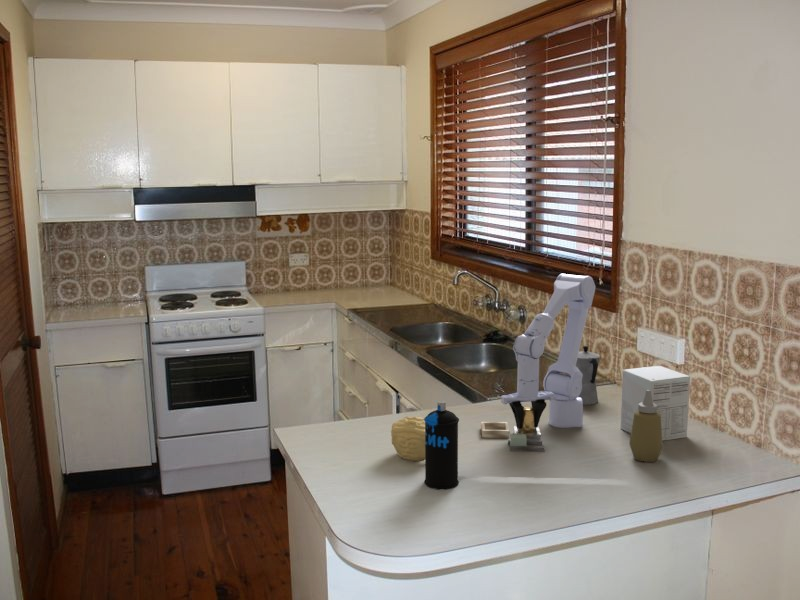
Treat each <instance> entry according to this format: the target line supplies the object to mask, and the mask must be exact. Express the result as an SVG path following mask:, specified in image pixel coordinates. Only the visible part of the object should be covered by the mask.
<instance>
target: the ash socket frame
mask: <svg viewBox="0 0 800 600" xmlns="http://www.w3.org/2000/svg"><path fill="white" fill-rule="evenodd" d="M480 423H481V424H480V431H481V437H482V438H495V439H496V438H498V439H499V438H500V439H501V438H502V439H503V438H505V439H507V438H510V434H511V433H510V432H511V431H510V427H509V422H508V421H481V422H480Z"/></svg>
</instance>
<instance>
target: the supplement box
mask: <svg viewBox="0 0 800 600" xmlns="http://www.w3.org/2000/svg"><path fill="white" fill-rule="evenodd" d="M690 386H691V375H687V374H684V373H681V372H680V371H676V370H672V369H671V368H668V367H665V366H662V365H653V366H645V367H643V366H642V367H636V368H634V367H633V368H626V369H622V384H621V405H620V406H621V407H620V409H621V410H620V412H621V414H620V429H621V430H623V431H625V432H627V433H629V434H631V431H632V424H633V418H634V413H635V412H636V411H638V404H639V403H641V402H643V400H644V396H645V393H646V390H650V391H651V394H652V400H653V403H654V404H656V405H657V412H658V413H659V414H660V416H661V430H662V442H663V441H670V440H676V439H682V438H687V437H688V423H689V422H688V421H689V420H688V419H689V406H690V405H689V403H690Z"/></svg>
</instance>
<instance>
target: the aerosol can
mask: <svg viewBox="0 0 800 600" xmlns="http://www.w3.org/2000/svg"><path fill="white" fill-rule="evenodd" d="M446 404H447V402H446V401H445V400H438V401H437V409H436V410H433V411H431V412H430V413H428V414H427V415H426V416H425V417H423V418H424V421H425V458H424V459H425V460H424V461H425V463H424V465H425V468H424V470H425V472H424V473H425V475H424V478H425V479H424V485H425V486H426V487H428V488H431V489H433V488H434V489H433V490H440V489H444V490H450V489H451V490H452V489H454V488H456V487H457V486H458V485H459V483H460V481H459V479H458V478H459V477H458V476H459V475H458V473H459V472H458V471H459V470H458V469H459V463H458V462H459V436H458V435H459V422H460V418H459V417H458V416H457V415H456V414H455V413H454V412H453V411H450V410H447V405H446Z"/></svg>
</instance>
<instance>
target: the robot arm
mask: <svg viewBox="0 0 800 600" xmlns="http://www.w3.org/2000/svg"><path fill="white" fill-rule="evenodd" d="M596 287H597V286H596V284H595V282H594V279H593V277H592V276H590V275H576V274H568V273H567V274H566V273H564V272H563V273H560V274H559V275H557V277H556V280H555V281H554V282H553V293H552V295H551V297H550V299H549V301H548V303H547V304H546V306H545V308H544V310H543V312H541V313H537V314H536V315H535V317H534V318H533V320H532V321H531V322H530V324H529V325H528V326H527V328H526V330H525V332H524V333H523V334H520V335H518V336H517V337H516V338H515V340H514V343H513V346H512V350H513V352H514V354H515V360H516V362H517V373H516V374H517V378H516V380H517V381H516V384H517V385H516V387H517V388H516V392H514V393H509V394H504V395H503V394H502V395H501V397H500V399H501V402H500V403H501V404H503V405H509V407H510V409H511V411H512V413H513V416H514V419H515V420H514V421H515V424H516V425H515V426H517V428H519V429H522V415H523V409H524V407H525V406H523V404H522V403H527V402H528V403H529V402H530V403H531V407H532V408H534V409H535V428H536V427H539V424H540V419H541V416H542V414H543V412H544V411H545V409H546V408H547V402H546V401H548V404H549V405H548V425H550V426H552V427H555V428H563V429H564V428H583V422H584V421H583V420H584V405H583V401H582V398H581V397H578V396H579V395H580V393H581V390H582V376H583V374H582V373H581V372H580V370H579V369H578V368H577V367H576V362H577V358H578V354H579V351H580V348H581V345H582V340H583V334H584V330H585V327H586V323H587V317H588V314H589V309H590V307H592V304H593V300H594V296H595V292H596ZM566 305H567V306H568V308H569V310H568V313H567V314H568V315H567V319H566V323H565V328H564V333H563V337H562V341H561V345H560V349H559V353H558V358H557V361H556V362H555V363H552V364H551V365H549V366H548V369H547V372H546V375H545V376H544V378H543V381H542V385H543V389H544V391H539V386H540V384H539V383H540V358H541V356H542V355H543V353H544V351H545V346H546V342H547V341H546V340H547V338H548V337H549V335H550V334H551V332H552V331H553V329H554V328H555V321H554V320H555V318H557V316H558V315H559V313H560V312H561V311H562V310H563V308H564V307H565V306H566Z"/></svg>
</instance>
